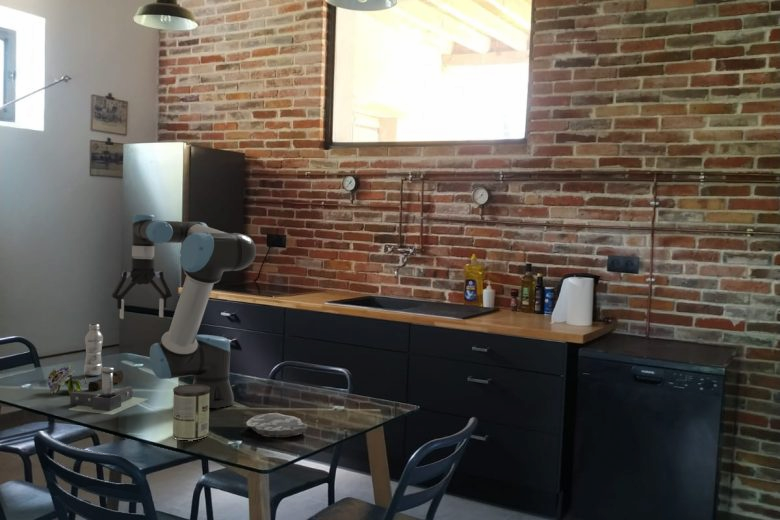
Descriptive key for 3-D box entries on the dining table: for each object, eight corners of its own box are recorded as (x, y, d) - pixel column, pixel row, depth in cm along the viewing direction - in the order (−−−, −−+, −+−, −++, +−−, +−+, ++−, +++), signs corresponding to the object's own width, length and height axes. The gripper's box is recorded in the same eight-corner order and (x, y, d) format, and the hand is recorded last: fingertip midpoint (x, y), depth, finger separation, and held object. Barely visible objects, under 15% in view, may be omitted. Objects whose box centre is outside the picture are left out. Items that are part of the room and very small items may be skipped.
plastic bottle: (84, 374, 280) (85, 323, 279) (103, 373, 282) (104, 323, 281) (82, 377, 274) (83, 325, 273) (101, 377, 276) (102, 325, 275)
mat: (148, 400, 245) (149, 398, 245) (112, 416, 225) (112, 414, 225) (107, 395, 249) (107, 394, 249) (67, 411, 228) (67, 409, 228)
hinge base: (121, 406, 234) (121, 394, 234) (109, 411, 228) (110, 398, 228) (77, 401, 238) (77, 389, 238) (65, 406, 232) (65, 394, 232)
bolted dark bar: (132, 397, 245) (133, 386, 245) (115, 405, 235) (115, 392, 235) (129, 397, 245) (129, 386, 245) (111, 404, 235) (111, 392, 235)
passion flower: (53, 410, 248) (37, 380, 250) (81, 398, 256) (66, 369, 258) (65, 397, 241) (49, 366, 243) (94, 386, 250) (78, 356, 252)
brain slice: (233, 429, 217) (233, 419, 217) (279, 420, 229) (279, 410, 229) (270, 445, 204) (271, 435, 203) (317, 435, 215) (318, 425, 215)
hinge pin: (115, 407, 233) (116, 367, 233) (108, 409, 230) (109, 369, 229) (105, 405, 234) (105, 366, 234) (97, 408, 231) (98, 368, 230)
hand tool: (97, 393, 253) (97, 380, 253) (87, 392, 254) (87, 379, 254) (129, 382, 271) (129, 370, 271) (120, 381, 272) (120, 369, 272)
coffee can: (177, 430, 213) (178, 383, 212) (212, 431, 214) (213, 384, 213) (167, 441, 203) (168, 391, 202) (204, 442, 203) (205, 393, 203)
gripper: (175, 257, 263) (173, 314, 264) (103, 256, 250) (102, 317, 251) (181, 258, 257) (179, 317, 258) (108, 258, 244) (106, 320, 245)
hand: (141, 317), depth 255 cm, fingers open, 13 cm apart
